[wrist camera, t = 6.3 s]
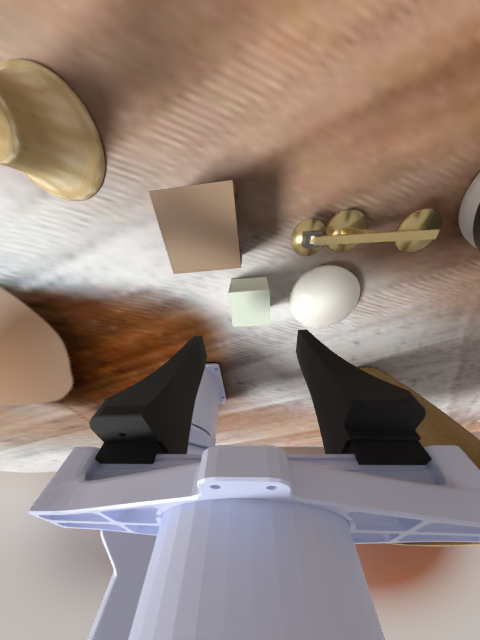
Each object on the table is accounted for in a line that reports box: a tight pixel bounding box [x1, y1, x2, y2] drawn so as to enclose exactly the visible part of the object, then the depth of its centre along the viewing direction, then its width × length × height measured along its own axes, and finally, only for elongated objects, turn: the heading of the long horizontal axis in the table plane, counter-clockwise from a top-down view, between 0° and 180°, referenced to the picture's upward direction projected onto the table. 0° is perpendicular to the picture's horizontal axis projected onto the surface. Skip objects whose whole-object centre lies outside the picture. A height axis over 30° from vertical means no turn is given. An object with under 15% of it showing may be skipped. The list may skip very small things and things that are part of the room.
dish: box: [289, 265, 360, 328], centre depth 21 cm, size 8×8×1 cm
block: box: [228, 277, 270, 327], centre depth 20 cm, size 4×4×4 cm
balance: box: [291, 209, 442, 256], centre depth 15 cm, size 4×11×6 cm, turn 95°
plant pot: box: [359, 367, 480, 546], centre depth 22 cm, size 15×15×16 cm
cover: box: [149, 180, 242, 274], centre depth 16 cm, size 6×6×5 cm
